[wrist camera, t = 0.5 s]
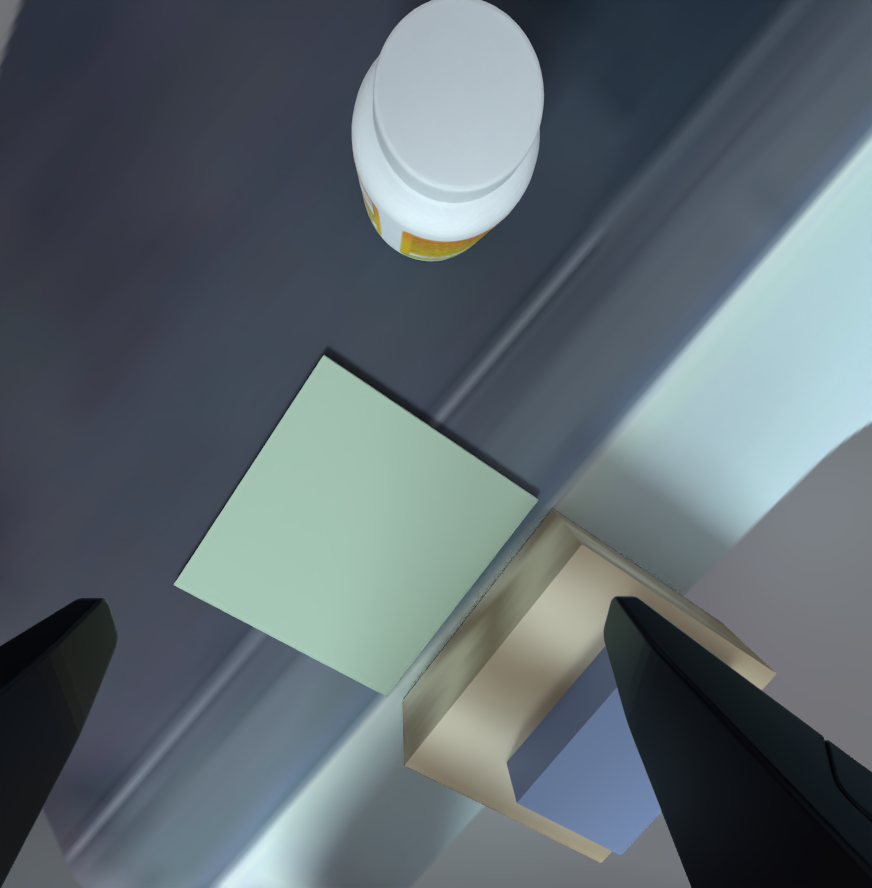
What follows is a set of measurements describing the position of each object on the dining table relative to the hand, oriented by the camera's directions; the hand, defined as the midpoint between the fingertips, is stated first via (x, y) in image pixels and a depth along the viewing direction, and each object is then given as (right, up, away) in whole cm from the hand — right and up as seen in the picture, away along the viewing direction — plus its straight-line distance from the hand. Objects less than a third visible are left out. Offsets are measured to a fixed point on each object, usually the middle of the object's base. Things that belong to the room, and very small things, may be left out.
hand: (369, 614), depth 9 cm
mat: (-3, -1, +15) cm, 15 cm away
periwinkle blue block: (+9, -10, +14) cm, 20 cm away
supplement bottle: (+1, +13, +12) cm, 18 cm away
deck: (+8, -9, +18) cm, 21 cm away
